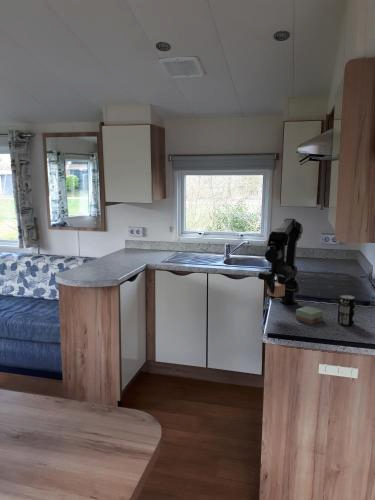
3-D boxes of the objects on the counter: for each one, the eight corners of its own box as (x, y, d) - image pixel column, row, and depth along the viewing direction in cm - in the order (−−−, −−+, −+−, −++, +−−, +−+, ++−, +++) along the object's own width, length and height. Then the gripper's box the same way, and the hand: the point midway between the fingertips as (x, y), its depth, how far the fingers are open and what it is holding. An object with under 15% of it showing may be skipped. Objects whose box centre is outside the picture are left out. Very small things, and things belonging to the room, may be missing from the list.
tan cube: (276, 293, 178) (276, 282, 177) (284, 295, 174) (285, 284, 173) (268, 294, 175) (268, 283, 175) (276, 297, 171) (277, 286, 171)
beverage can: (349, 321, 170) (351, 294, 168) (356, 326, 163) (358, 298, 161) (334, 321, 170) (336, 294, 168) (341, 326, 163) (343, 299, 161)
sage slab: (307, 311, 176) (307, 305, 176) (322, 316, 170) (322, 310, 170) (296, 314, 172) (296, 309, 171) (311, 319, 165) (311, 314, 165)
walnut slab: (307, 316, 177) (307, 311, 176) (322, 321, 170) (322, 316, 170) (295, 320, 172) (296, 314, 172) (310, 325, 166) (311, 319, 165)
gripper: (277, 264, 160) (275, 300, 163) (306, 259, 171) (304, 293, 173) (257, 259, 169) (256, 294, 172) (287, 255, 180) (285, 288, 182)
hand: (276, 292), depth 175 cm, fingers closed on tan cube, 5 cm apart
